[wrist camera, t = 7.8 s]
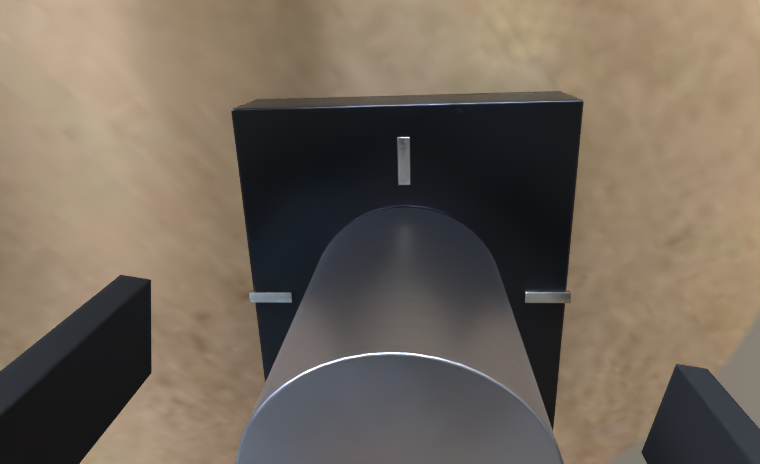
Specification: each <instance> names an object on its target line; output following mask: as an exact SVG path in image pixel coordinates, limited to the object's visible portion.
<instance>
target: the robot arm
mask: <svg viewBox="0 0 760 464" xmlns="http://www.w3.org/2000/svg"><path fill="white" fill-rule="evenodd" d="M150 374H151V280H149V279H142V278H136V277H130V276H124V275H120V276H119V277H117V278H116V279H115V280H114V281H112V282H111V283H110V284H109V285H107V286H106V287H105V288H104V289H102V290H101V291H100V292H99V293H97V294H96V295H95V296H94V297H92V298H91V299H90V300H89V301H87V302H86V303H85V304H84V305H82V306H81V307H80V308H79V309H77V310H76V311H75V312H74V313H72V314H71V315H70V316H69V317H67V318H66V319H65V320H64V321H62V322H61V323H60V324H59V325H57V326H56V327H55V328H54V329H52V330H51V331H50V332H49V333H48V334H46V335H45V336H44V337H43V338H41V339H40V340H39V341H38V342H36V343H35V344H34V345H33V346H31V347H30V348H29V349H28V350H26V351H25V352H24V353H23V354H21V355H20V356H19V357H18V358H16V359H15V360H14V361H13V362H11V363H10V364H9V365H8V366H6V367H5V368H4V369H3V370H1V371H0V464H79V463H80V462H81V461H82V459H83V458H84V457H85V456H86V454H87V453H88V452H89V451H90V449H91V448H92V447H93V446H94V444H95V443H96V442H97V441H98V439H99V438H100V437H101V436H102V434H103V433H104V432H105V431H106V429H107V428H108V427H109V426H110V424H111V423H112V422H113V420H114V419H115V418H116V417H117V415H118V414H119V413H120V412H121V410H122V409H123V408H124V407H125V405H126V404H127V403H128V402H129V400H130V399H131V398H132V397H133V395H134V394H135V393H136V392H137V390H138V389H139V388H140V386H141V385H142V384H143V383H144V381H145V380H146V379H147V378H148V376H149V375H150ZM642 454H643V456H644V458H645V460H646V462H647V464H760V429H759V428H758V427H757V426H756V425H755V423H754V422H753V421H752V420H751V419H750V418H749V416H748V415H747V414H746V413H745V412H744V411H743V410H742V408H741V407H740V406H739V405H738V404H737V403H736V401H735V400H734V399H733V398H732V397H731V396H730V394H729V393H728V392H727V391H726V390H725V389H724V388H723V386H722V385H721V384H720V383H719V382H718V381H717V379H716V378H715V377H714V376H713V375H712V374H711V373H710V371H709V370H708V369H704V368H698V367H692V366H685V365H679V364H676V366H675V369H674V371H673V374H672V376H671V379H670V381H669V384H668V386H667V389H666V391H665V394H664V397H663V399H662V402H661V404H660V407H659V409H658V412H657V414H656V417H655V419H654V422H653V424H652V427H651V430H650V432H649V435H648V437H647V440H646V442H645V445H644V447H643V450H642Z"/></svg>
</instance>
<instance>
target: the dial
mask: <svg viewBox="0 0 760 464" xmlns="http://www.w3.org/2000/svg"><path fill="white" fill-rule="evenodd" d="M235 464H564V463H563V460H562V457H561V454H560V451H559V448H558V445H557V442H556V439H555V436H554V433H553V430H552V427H551V424H550V421H549V418H548V415H547V412H546V409H545V406H544V404H543V401H542V398H541V395H540V392H539V389H538V386H537V383H536V380H535V377H534V374H533V371H532V368H531V365H530V362H529V359H528V356H527V353H526V350H525V347H524V344H523V341H522V338H521V336H520V333H519V330H518V327H517V324H516V321H515V318H514V315H513V312H512V309H511V306H510V303H509V300H508V297H507V294H506V291H505V288H504V285H503V282H502V279H501V276H500V273H499V271H498V268H497V265H496V262H495V260H494V258H493V256H492V254H491V253H490V251H489V250H488V248H487V247H486V245H485V244H484V243H483V241H482V240H481V239H480V238H479V237H478V236H477V235H476V234H475V233H474V232H473V231H471V230H470V229H469V228H468V227H466V226H465V225H463V224H462V223H460V222H459V221H457V220H455V219H453V218H451V217H449V216H447V215H444V214H442V213H439V212H435V211H432V210H428V209H422V208H413V207H399V208H389V209H385V210H380V211H376V212H374V213H371V214H368V215H365V216H363V217H361V218H359V219H357V220H356V221H354V222H352V223H351V224H349V225H348V226H347V227H345V228H344V229H343V230H342V231H341V232H339V233H338V234H337V235H336V236H335V237H334V239H333V240H332V241H331V242H330V243H329V245H328V246H327V248H326V249H325V251H324V252H323V254H322V256H321V258H320V261H319V263H318V265H317V267H316V270H315V272H314V274H313V276H312V279H311V281H310V283H309V285H308V288H307V290H306V292H305V294H304V297H303V299H302V301H301V303H300V306H299V308H298V310H297V312H296V315H295V317H294V319H293V321H292V324H291V326H290V328H289V330H288V333H287V335H286V337H285V339H284V342H283V344H282V346H281V348H280V351H279V353H278V355H277V357H276V360H275V362H274V364H273V367H272V369H271V371H270V373H269V376H268V378H267V380H266V382H265V385H264V387H263V389H262V391H261V394H260V396H259V398H258V400H257V403H256V405H255V407H254V409H253V412H252V414H251V416H250V418H249V421H248V423H247V425H246V427H245V430H244V432H243V434H242V437H241V439H240V441H239V445H238V449H237V454H236V458H235Z"/></svg>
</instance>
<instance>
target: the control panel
mask: <svg viewBox="0 0 760 464" xmlns="http://www.w3.org/2000/svg"><path fill="white" fill-rule="evenodd" d="M231 112H232V120H233V128H234V136H235V144H236V152H237V160H238V168H239V176H240V184H241V192H242V200H243V208H244V216H245V224H246V232H247V240H248V248H249V256H250V264H251V272H252V280H253V288H254V291H250V292H249V298H250V302H255V304H256V312H257V320H258V328H259V336H260V344H261V352H262V360H263V368H264V376H265V382H266V380H267V378H268V376H269V373H270V371H271V369H272V367H273V364H274V362H275V360H276V357H277V355H278V353H279V351H280V348H281V346H282V344H283V342H284V339H285V337H286V335H287V333H288V330H289V328H290V326H291V324H292V321H293V319H294V317H295V315H296V312H297V310H298V308H299V306H300V303H301V301H302V299H303V297H304V294H305V292H306V290H307V288H308V285H309V283H310V281H311V279H312V276H313V274H314V272H315V270H316V267H317V265H318V263H319V261H320V258H321V256H322V254H323V252H324V251H325V249H326V248H327V246H328V245H329V243H330V242H331V241H332V240H333V239H334V237H335V236H336V235H337V234H338V233H339V232H341V231H342V230H343V229H344V228H345V227H347V226H348V225H349V224H351V223H352V222H354V221H356V220H357V219H359V218H361V217H363V216H365V215H368V214H371V213H374V212H376V211H380V210H385V209H389V208H399V207H413V208H422V209H428V210H432V211H435V212H439V213H442V214H444V215H447V216H449V217H451V218H453V219H455V220H457V221H459V222H460V223H462V224H463V225H465V226H466V227H468V228H469V229H470V230H471V231H473V232H474V233H475V234H476V235H477V236H478V237H479V238H480V239H481V240H482V241H483V243H484V244H485V245H486V247H487V248H488V250H489V251H490V253H491V254H492V256H493V258H494V260H495V262H496V265H497V268H498V271H499V273H500V276H501V279H502V282H503V285H504V288H505V291H506V294H507V297H508V300H509V303H510V306H511V309H512V312H513V315H514V318H515V321H516V324H517V327H518V330H519V333H520V336H521V338H522V341H523V344H524V347H525V350H526V353H527V356H528V359H529V362H530V365H531V368H532V371H533V374H534V377H535V380H536V383H537V386H538V389H539V392H540V395H541V398H542V401H543V404H544V406H545V409H546V412H547V415H548V418H549V421H550V424H551V427H552V430H553V427H554V416H555V405H556V394H557V383H558V372H559V362H560V351H561V340H562V329H563V318H564V308H565V303H570V301H571V292H570V291H566V286H567V275H568V264H569V253H570V243H571V232H572V221H573V210H574V199H575V189H576V178H577V167H578V156H579V145H580V134H581V124H582V113H583V100H581V99H578V98H576V97H573V96H571V95H568V94H566V93H563V92H561V91H552V92H516V93H479V94H443V95H406V96H370V97H333V98H297V99H260V100H254V101H252V102H249V103H247V104H244V105H241V106H239V107H236V108H234V109H232V111H231Z"/></svg>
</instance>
